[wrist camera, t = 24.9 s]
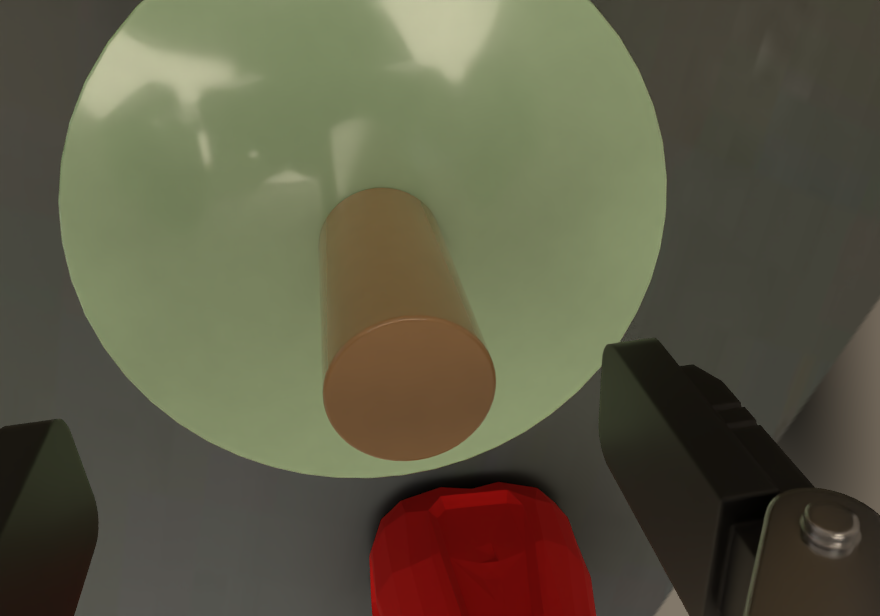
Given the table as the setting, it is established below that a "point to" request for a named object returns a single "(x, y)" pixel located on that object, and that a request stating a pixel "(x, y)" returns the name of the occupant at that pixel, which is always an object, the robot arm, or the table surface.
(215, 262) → the lid
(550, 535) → the water bottle
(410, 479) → the table surface
